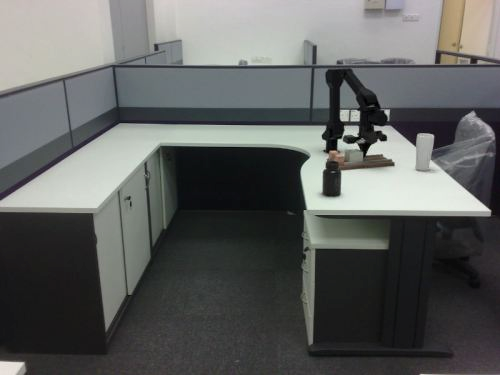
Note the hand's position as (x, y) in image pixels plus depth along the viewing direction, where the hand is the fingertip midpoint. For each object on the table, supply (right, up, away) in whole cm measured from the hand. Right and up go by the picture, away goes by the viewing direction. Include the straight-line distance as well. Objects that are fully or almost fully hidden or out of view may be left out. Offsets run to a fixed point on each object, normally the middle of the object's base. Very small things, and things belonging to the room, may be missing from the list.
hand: (363, 157), depth 208 cm
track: (-2, -3, +1) cm, 3 cm away
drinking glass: (+23, -6, -9) cm, 25 cm away
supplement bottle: (-21, -16, -35) cm, 44 cm away
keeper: (-5, -2, -1) cm, 5 cm away
